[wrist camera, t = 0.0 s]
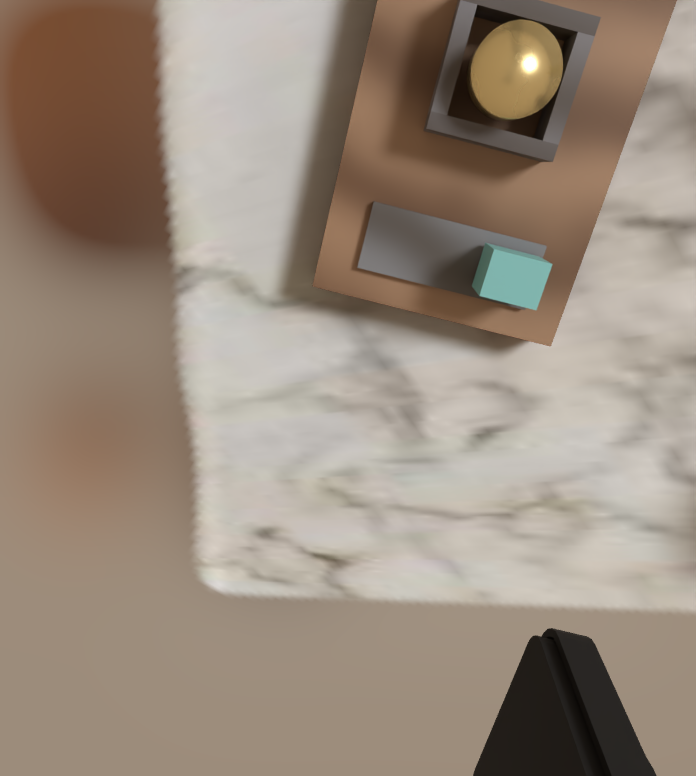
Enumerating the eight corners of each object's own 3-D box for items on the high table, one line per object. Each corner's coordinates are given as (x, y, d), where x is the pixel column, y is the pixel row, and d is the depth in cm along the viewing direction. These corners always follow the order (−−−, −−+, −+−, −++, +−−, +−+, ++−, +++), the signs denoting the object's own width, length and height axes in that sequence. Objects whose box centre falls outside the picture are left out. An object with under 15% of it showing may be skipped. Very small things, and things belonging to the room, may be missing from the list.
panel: (433, -235, 30) (443, -305, 26) (714, -154, 31) (772, -209, 26) (316, 279, 39) (308, 294, 34) (540, 335, 39) (561, 357, 35)
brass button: (481, 18, 30) (488, 8, 28) (563, 41, 30) (576, 32, 28) (456, 109, 31) (461, 105, 29) (535, 130, 31) (545, 128, 30)
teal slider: (485, 242, 34) (494, 249, 32) (539, 256, 35) (552, 264, 32) (471, 286, 35) (479, 296, 33) (524, 299, 35) (536, 310, 33)
